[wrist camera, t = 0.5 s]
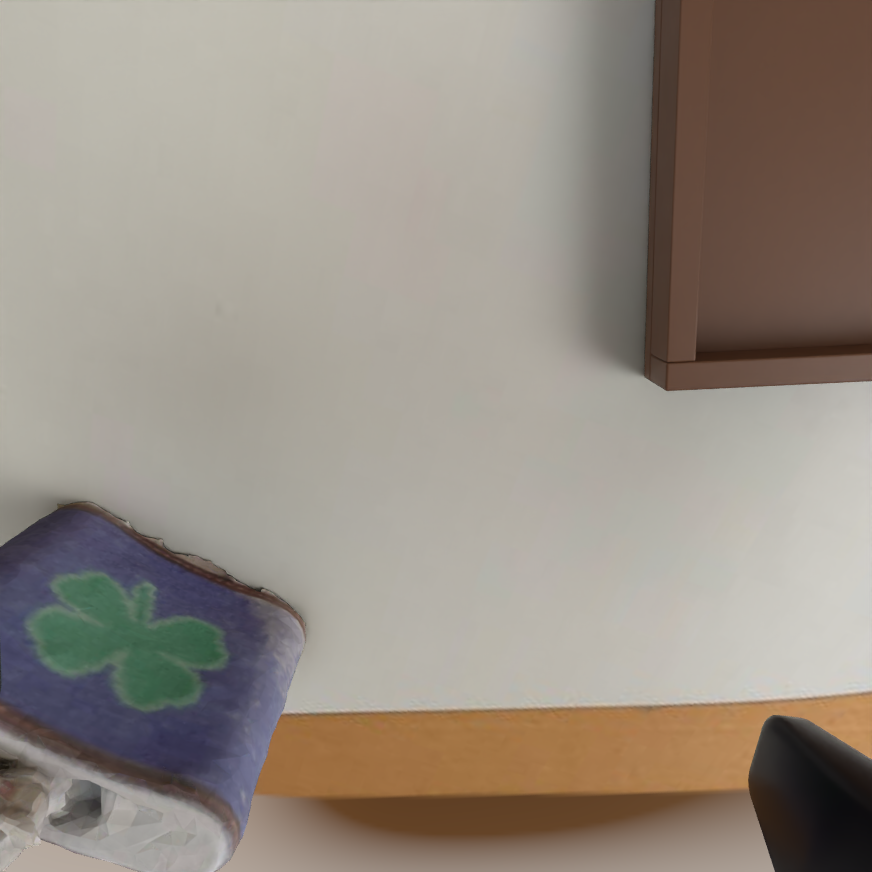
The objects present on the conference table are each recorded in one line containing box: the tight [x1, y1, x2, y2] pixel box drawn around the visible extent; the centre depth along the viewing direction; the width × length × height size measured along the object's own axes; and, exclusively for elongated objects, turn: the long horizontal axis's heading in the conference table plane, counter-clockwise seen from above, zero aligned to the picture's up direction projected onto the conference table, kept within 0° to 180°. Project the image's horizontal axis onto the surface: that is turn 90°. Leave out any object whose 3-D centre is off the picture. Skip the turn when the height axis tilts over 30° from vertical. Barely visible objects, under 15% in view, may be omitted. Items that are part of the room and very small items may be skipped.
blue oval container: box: [0, 502, 306, 872], centre depth 18 cm, size 9×3×11 cm, turn 60°
